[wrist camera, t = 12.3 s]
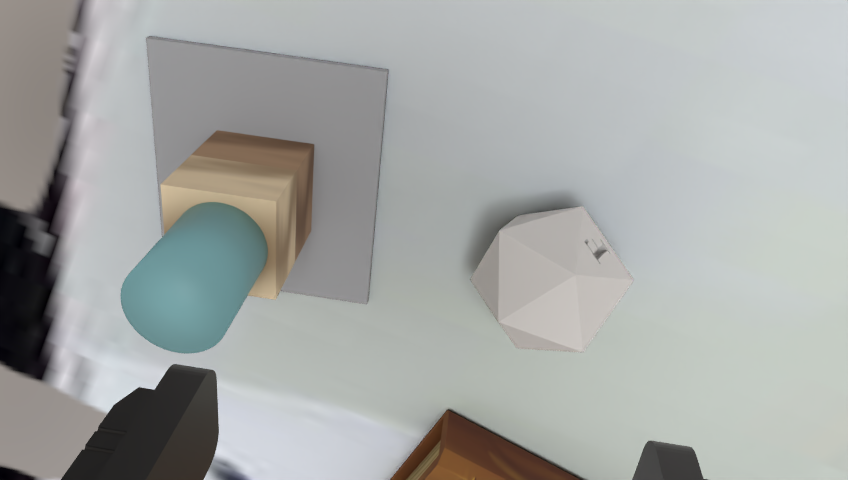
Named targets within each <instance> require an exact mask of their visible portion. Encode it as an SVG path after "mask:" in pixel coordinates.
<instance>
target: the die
mask: <svg viewBox="0 0 848 480" xmlns="http://www.w3.org/2000/svg"><path fill="white" fill-rule="evenodd" d="M470 280H471V282H472V283H473V285H474V286H475V288H476V289H477V291H478V292H479V294H480V295H481V297H482V298H483V300H484V301H485V303H486V304H487V306H488V307H489V309H490V310H491V312H492V313H493V315H494V316H495V318H496V319H497V321H498V322H499V324H500V325H501V327H502V328H503V329H504V331H505V332H506V334H507V335H508V336H509V338H510V339H511V341H512V342H513V343H514V345H515V346H516V348H520V349H536V350H552V351H568V352H584V351H585V349H586V348H587V346H588V345H589V344H590V342H591V341H592V339H593V338H594V336H595V335H596V334H597V332H598V331H599V329H600V328H601V326H602V325H603V324H604V322H605V321H606V319H607V318H608V316H609V315H610V314H611V312H612V311H613V309H614V308H615V307H616V305H617V304H618V302H619V301H620V299H621V298H622V297H623V295H624V294H625V292H626V291H627V289H628V288H629V287H630V285H631V284H632V282H633V281H634V279H633V278H632V276H631V275H630V273H629V272H628V271H627V269H626V268H625V266H624V265H623V263H622V262H621V260H620V259H619V258H618V256H617V255H616V253H615V252H614V250H613V249H612V247H611V246H610V245H609V243H608V242H607V240H606V239H605V237H604V236H603V234H602V233H601V232H600V230H599V229H598V227H597V226H596V224H595V223H594V221H593V220H592V219H591V217H590V216H589V214H588V213H587V211H586V210H585V208H584V207H583V206H581V207H574V208H567V209H559V210H552V211H545V212H538V213H531V214H523V215H518V216H517V217H515V218H514V219H513V220H512V221H510V222H509V223H508V224H507V225H505V226H504V227H503V228H502V229H500V230H499V232H498V233H497V235H496V237H495V238H494V240H493V242H492V243H491V245H490V247H489V249H488V250H487V252H486V254H485V255H484V257H483V259H482V260H481V262H480V264H479V265H478V267H477V269H476V270H475V272H474V274H473V275H472V277H471V279H470Z"/></svg>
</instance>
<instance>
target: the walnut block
mask: <svg viewBox="0 0 848 480" xmlns="http://www.w3.org/2000/svg"><path fill="white" fill-rule="evenodd" d="M191 155H195V156H202V157H209V158H216V159H223V160H230V161H237V162H244V163H250V164H257V165H264V166H271V167H278V168H285V169H292V170H297V195H296V237H295V261H296V259H297V257H298V255H299V253H300V252H301V250H302V248H303V246H304V244H305V242H306V240H307V238H308V236H309V234H310V232H311V222H312V195H313V167H314V144H310V143H303V142H296V141H289V140H282V139H275V138H268V137H261V136H255V135H248V134H241V133H234V132H227V131H220V130H216V131H215V132H214V133H213V134H212V135H211V136H210V137H209V138H208V139H207V140H206V141H205V142H204V143H203V144H202V145H201V146H200V147H199V148H198V149H197V150H196V151H195V152H194V153H193V154H191Z"/></svg>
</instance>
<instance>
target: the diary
mask: <svg viewBox="0 0 848 480" xmlns="http://www.w3.org/2000/svg"><path fill="white" fill-rule="evenodd" d="M390 480H580V479H578V478H576V477H575V476H573V475H571V474H569V473H567V472H565V471H563V470H561V469H559V468H557V467H556V466H554V465H552V464H550V463H548V462H546V461H544V460H542V459H540V458H538V457H537V456H535V455H533V454H531V453H529V452H527V451H525V450H523V449H521V448H519V447H517V446H516V445H514V444H512V443H510V442H508V441H506V440H504V439H502V438H500V437H498V436H497V435H495V434H493V433H491V432H489V431H487V430H485V429H483V428H481V427H479V426H478V425H476V424H474V423H472V422H470V421H468V420H466V419H464V418H462V417H460V416H459V415H457V414H455V413H453V412H451V411H449V410H447V411H446V412H445V413H444V414H443V416H442V417H441V418H440V419H439V421H438V422H437V423H436V424H435V425H434V427H433V428H432V429H431V430H430V432H429V433H428V434H427V435H426V436H425V438H424V439H423V440H422V441H421V443H420V444H419V445H418V446H417V447H416V449H415V450H414V451H413V452H412V454H411V455H410V456H409V457H408V458H407V460H406V461H405V462H404V463H403V465H402V466H401V467H400V468H399V469H398V471H397V472H396V473H395V474H394V476H393V477H392V478H391V479H390Z"/></svg>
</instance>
